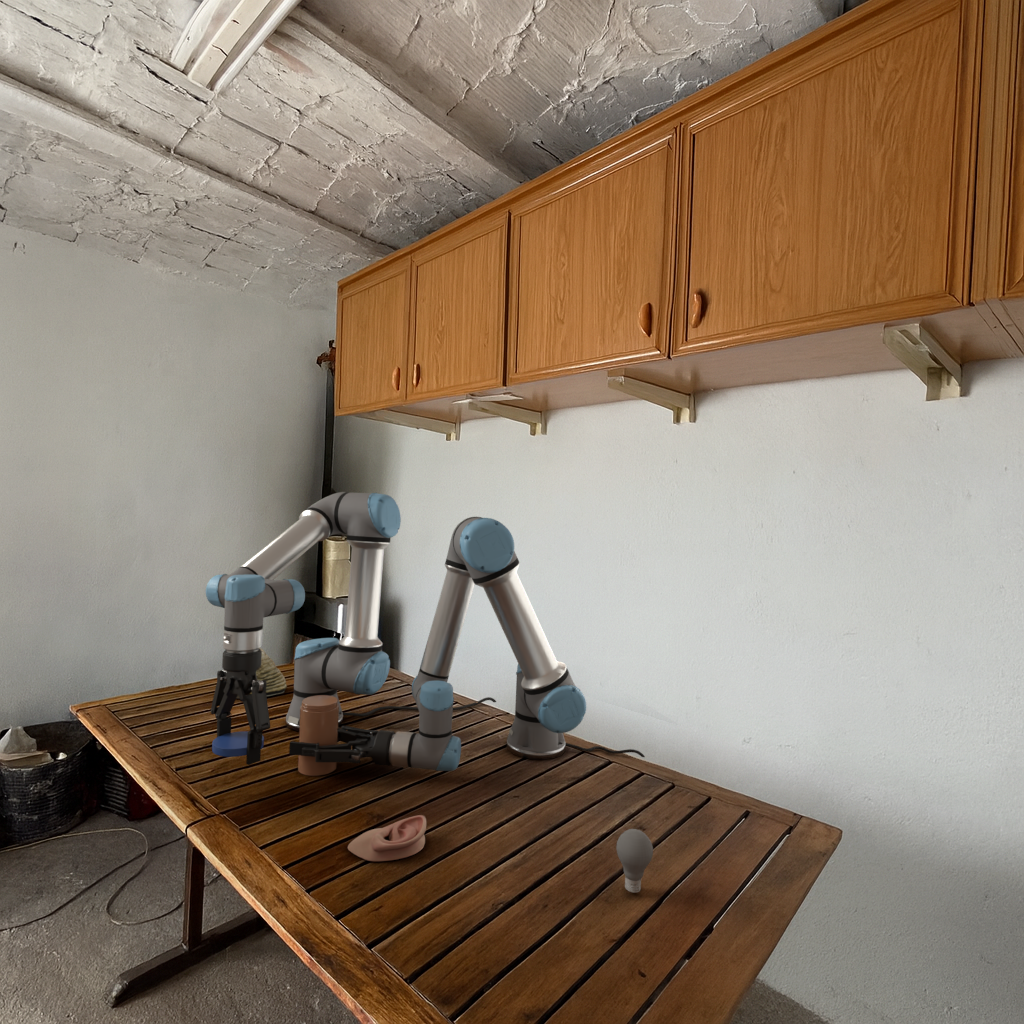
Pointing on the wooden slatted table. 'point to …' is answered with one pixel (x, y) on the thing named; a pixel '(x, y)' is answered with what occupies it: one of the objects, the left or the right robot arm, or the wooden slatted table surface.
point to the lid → (232, 744)
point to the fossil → (270, 676)
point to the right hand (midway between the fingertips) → (299, 740)
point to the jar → (318, 731)
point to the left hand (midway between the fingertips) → (237, 755)
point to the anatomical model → (391, 840)
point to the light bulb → (634, 857)
